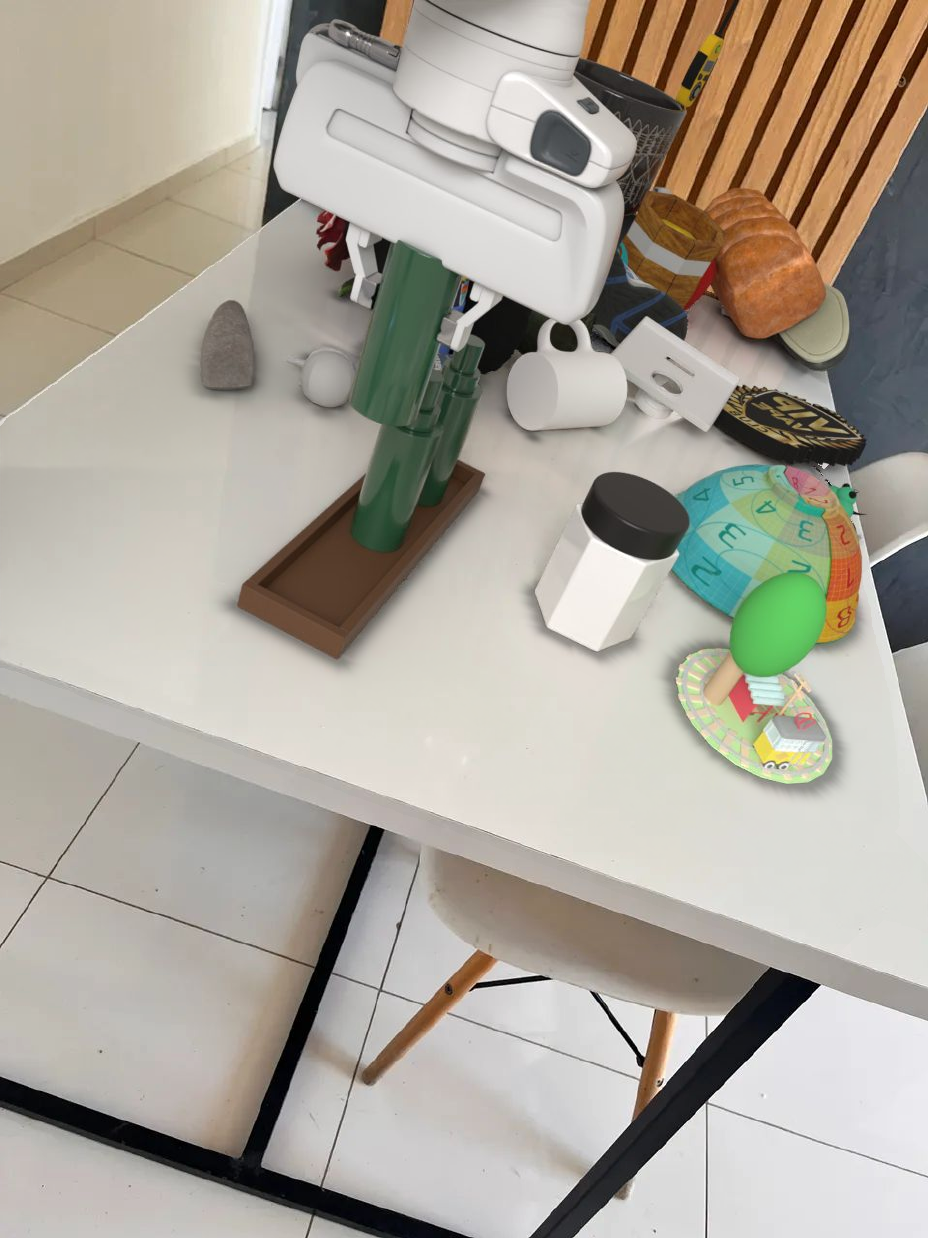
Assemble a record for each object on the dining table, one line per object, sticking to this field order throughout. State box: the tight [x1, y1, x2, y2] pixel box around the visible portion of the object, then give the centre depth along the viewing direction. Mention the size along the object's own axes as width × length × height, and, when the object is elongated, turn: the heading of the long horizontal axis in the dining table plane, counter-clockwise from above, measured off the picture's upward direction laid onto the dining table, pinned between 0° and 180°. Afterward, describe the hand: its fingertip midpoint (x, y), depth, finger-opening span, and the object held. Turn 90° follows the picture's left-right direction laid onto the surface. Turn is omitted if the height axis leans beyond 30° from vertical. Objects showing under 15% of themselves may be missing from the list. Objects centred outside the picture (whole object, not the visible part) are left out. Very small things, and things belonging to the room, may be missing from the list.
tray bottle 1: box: [350, 369, 444, 553], centre depth 75 cm, size 5×5×15 cm
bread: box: [703, 187, 826, 340], centre depth 150 cm, size 14×26×16 cm
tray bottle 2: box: [417, 334, 485, 507], centre depth 82 cm, size 5×5×15 cm
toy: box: [813, 465, 867, 533], centre depth 113 cm, size 13×5×10 cm
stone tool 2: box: [342, 219, 532, 375], centre depth 107 cm, size 12×4×25 cm
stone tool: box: [199, 299, 256, 391], centre depth 94 cm, size 17×4×5 cm
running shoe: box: [589, 249, 689, 361], centre depth 125 cm, size 11×30×12 cm
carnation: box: [315, 210, 597, 356], centre depth 116 cm, size 16×18×35 cm
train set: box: [675, 572, 833, 785], centre depth 75 cm, size 15×14×14 cm
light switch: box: [609, 316, 741, 433], centre depth 120 cm, size 15×6×14 cm
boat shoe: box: [774, 281, 850, 373], centre depth 152 cm, size 10×29×10 cm
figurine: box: [285, 347, 356, 408], centre depth 95 cm, size 8×5×12 cm
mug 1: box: [506, 319, 628, 431], centre depth 105 cm, size 12×8×10 cm
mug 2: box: [617, 186, 726, 308], centre depth 139 cm, size 20×14×15 cm
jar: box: [534, 471, 690, 653], centre depth 78 cm, size 9×8×12 cm
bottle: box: [348, 240, 463, 426], centre depth 58 cm, size 5×5×15 cm
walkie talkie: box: [675, 0, 740, 108], centre depth 129 cm, size 5×2×15 cm, turn 146°
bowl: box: [670, 463, 863, 644], centre depth 94 cm, size 22×22×10 cm
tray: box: [236, 459, 486, 660], centre depth 79 cm, size 30×8×2 cm, turn 159°
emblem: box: [713, 384, 867, 467], centre depth 124 cm, size 19×2×20 cm
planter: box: [573, 57, 688, 249], centre depth 139 cm, size 20×20×26 cm
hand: (408, 324), depth 59 cm, fingers closed on bottle, 4 cm apart
